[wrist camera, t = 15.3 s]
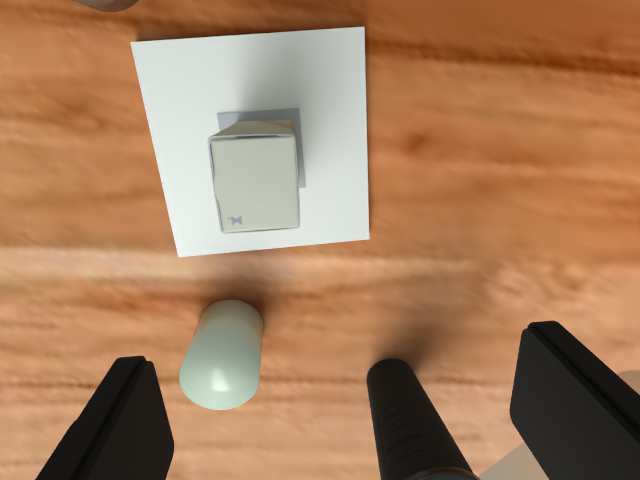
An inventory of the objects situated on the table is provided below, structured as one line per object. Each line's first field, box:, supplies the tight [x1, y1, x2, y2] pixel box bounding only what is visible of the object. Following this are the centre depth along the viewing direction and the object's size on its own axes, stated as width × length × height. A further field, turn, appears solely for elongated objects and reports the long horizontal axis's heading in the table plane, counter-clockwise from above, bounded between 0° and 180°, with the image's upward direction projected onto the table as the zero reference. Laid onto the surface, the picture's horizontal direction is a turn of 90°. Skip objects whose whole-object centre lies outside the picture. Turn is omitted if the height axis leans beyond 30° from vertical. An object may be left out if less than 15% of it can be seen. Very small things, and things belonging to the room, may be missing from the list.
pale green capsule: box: [179, 299, 264, 410], centre depth 33 cm, size 6×6×7 cm
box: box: [208, 120, 300, 234], centre depth 25 cm, size 5×4×11 cm
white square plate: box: [130, 27, 369, 257], centre depth 30 cm, size 16×16×1 cm
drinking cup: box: [367, 359, 481, 480], centre depth 31 cm, size 8×8×20 cm
